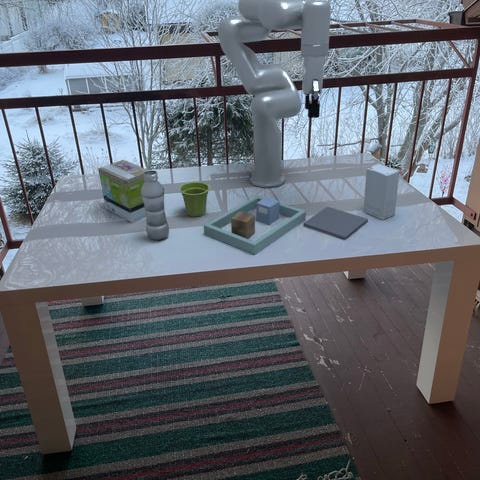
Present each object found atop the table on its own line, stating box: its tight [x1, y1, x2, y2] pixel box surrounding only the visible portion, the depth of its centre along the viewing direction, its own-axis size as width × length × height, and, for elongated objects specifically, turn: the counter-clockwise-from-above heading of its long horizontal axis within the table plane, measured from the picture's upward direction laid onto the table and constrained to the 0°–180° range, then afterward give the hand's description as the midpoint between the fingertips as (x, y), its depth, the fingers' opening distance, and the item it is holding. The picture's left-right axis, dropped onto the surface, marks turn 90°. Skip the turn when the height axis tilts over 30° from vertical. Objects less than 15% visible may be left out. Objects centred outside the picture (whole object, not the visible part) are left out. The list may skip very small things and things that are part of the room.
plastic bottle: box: [141, 170, 170, 240], centre depth 133 cm, size 6×7×20 cm
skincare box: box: [362, 163, 400, 221], centre depth 144 cm, size 8×6×15 cm
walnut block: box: [230, 212, 256, 240], centre depth 136 cm, size 5×5×6 cm
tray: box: [203, 195, 307, 255], centre depth 141 cm, size 19×25×3 cm
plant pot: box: [179, 181, 211, 217], centre depth 149 cm, size 9×9×9 cm
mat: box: [302, 206, 369, 241], centre depth 142 cm, size 14×14×1 cm
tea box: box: [97, 159, 150, 224], centre depth 149 cm, size 15×10×15 cm, turn 47°
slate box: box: [255, 197, 281, 226], centre depth 144 cm, size 5×5×6 cm
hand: (311, 113), depth 138 cm, fingers open, 9 cm apart
